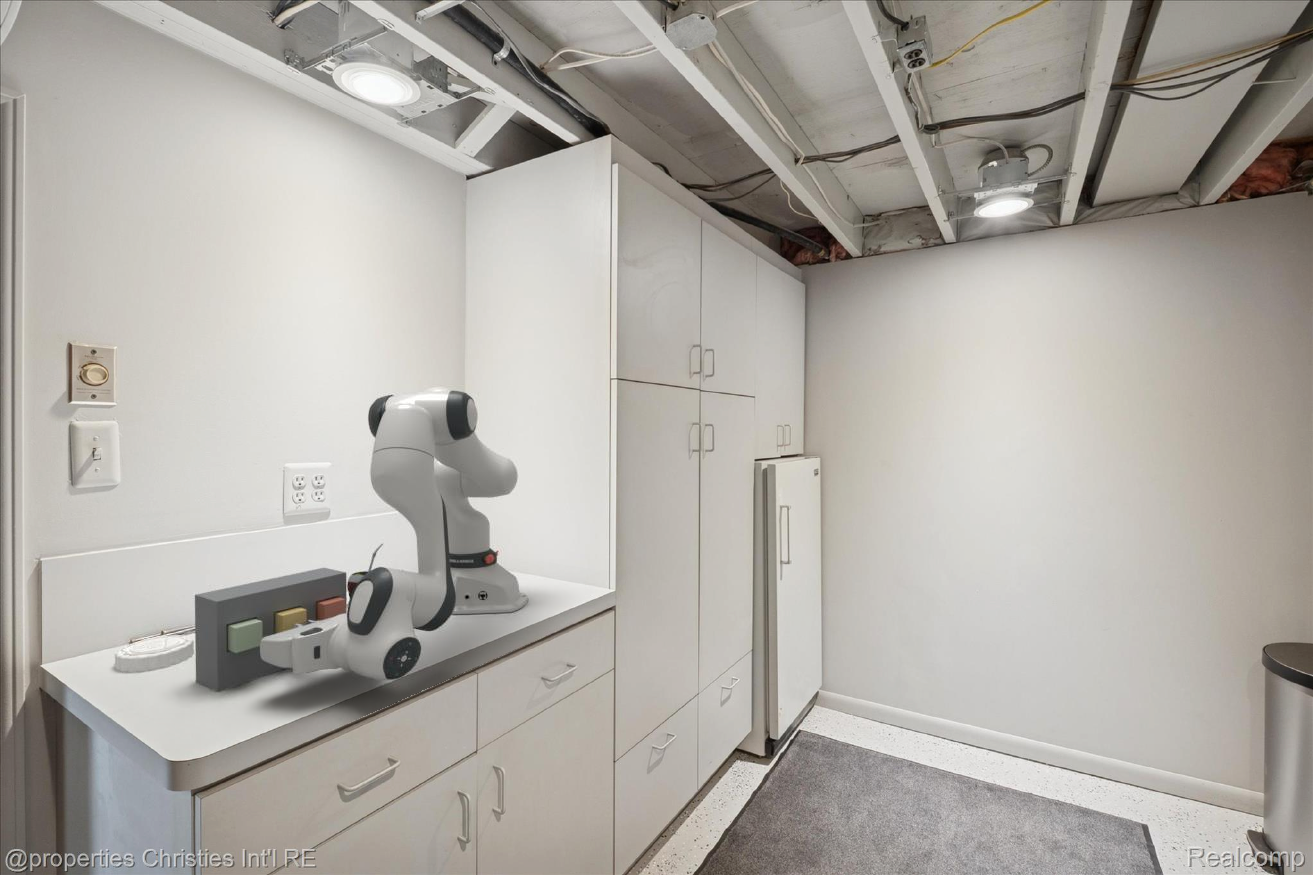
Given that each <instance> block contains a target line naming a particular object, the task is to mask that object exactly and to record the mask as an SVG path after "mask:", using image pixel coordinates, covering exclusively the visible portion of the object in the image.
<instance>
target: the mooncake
mask: <svg viewBox="0 0 1313 875" xmlns="http://www.w3.org/2000/svg"><path fill="white" fill-rule="evenodd" d="M194 641H195V640H194V639H193V638H192V637H191V636H187V635H179V634H173V635H172V634H171V635H165V636H164V635H163V636H162V635H160V636H153V637H149V638H148V637H147V638H144V639H141V640H139V641H136V642H133V643H129V644H126V645H125V646H123V647H121V648H119V649H118V650H117V652H115V653H114V669H115V670H116V671H118V672H121V673H130V674H131V673H144V672H148V671H149V672H150V671H156V670H159V669H164V668H165V669H166V668H169V667H172V666H174V665H178V664H180V663H182V662H184V661H188V659H190V658H191V657H193V654H195V651H194V650H195V649H194V644H195V643H194Z"/></svg>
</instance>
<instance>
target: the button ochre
mask: <svg viewBox="0 0 1313 875" xmlns="http://www.w3.org/2000/svg"><path fill="white" fill-rule="evenodd" d="M305 621H307V618H306V609H303V608H299V607H296V608H292V609H288V610H284V611H280V612H277V613H274V634H277V633H280V632H284V631H287V630H291V629H294V625H295V624H298V623H302V622H305Z"/></svg>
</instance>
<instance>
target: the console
mask: <svg viewBox="0 0 1313 875" xmlns="http://www.w3.org/2000/svg"><path fill="white" fill-rule="evenodd" d="M335 597H339V598H343V599H346V613H347V610H348V605H347V604H348V602H347V600H348V599H347V572H346V571H341V570H337V569H332V568H327V567H321V568H316V569H311V570H306V571H302V572H298V573H292V574H286V575H282V576H278V577H277V576H276V577H272V578H268V579H264V580H259V581H254V582H250V583H245V584H240V585H235V586H230V587H225V588H222V589H217V590H210V591H207V592H201V593H196V594H194V626H195V627H194V628H195V630H194V631H195V635H194V636H195V637H194V638H195V640H194V641H195V643H194V644H195V682H196V683H198V684H200V685H202V686H204V687H206V688H209V689H211V690H212V691H215V692H217V693H218V692H221V691H224V690H227V689H230V688H233V687H236V686H240V685H241V684H245V683H248V682H251V681H253V680H257V679H259V678H262V677H265V676H269V675H271V674H274V673H277V672H279V671H280V672H281V671H283V670H286V669H287V668H282V667H278V666H275V665H272V664H270V663H267V662H265V661H264V660H262V659H261V655H260V646H258V647H255V648H251V649H248V650H244V651H241V652H238V653H235V652H232V651H229V650H227V625H230V624H234V623H238V622H242V621H246V620H250V619H253V618H254V619H257V620H260V621H262V637H263V638H264V637H266V636H270V635H273V634H274V613H277V612H280V611H284V610H288V609H292V608H296V607H299V608H303V609H306V618H307V621H308V620H312V621H316V602H319V601H323V600H327V599H331V598H335Z"/></svg>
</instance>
